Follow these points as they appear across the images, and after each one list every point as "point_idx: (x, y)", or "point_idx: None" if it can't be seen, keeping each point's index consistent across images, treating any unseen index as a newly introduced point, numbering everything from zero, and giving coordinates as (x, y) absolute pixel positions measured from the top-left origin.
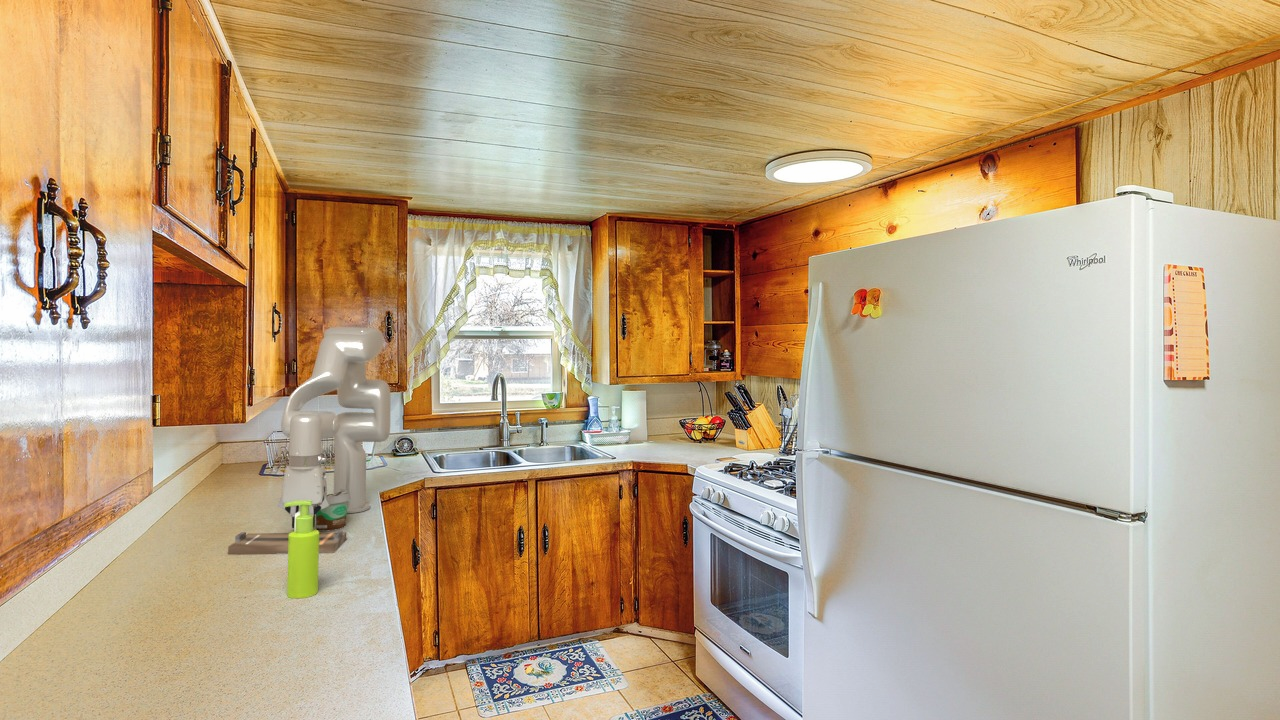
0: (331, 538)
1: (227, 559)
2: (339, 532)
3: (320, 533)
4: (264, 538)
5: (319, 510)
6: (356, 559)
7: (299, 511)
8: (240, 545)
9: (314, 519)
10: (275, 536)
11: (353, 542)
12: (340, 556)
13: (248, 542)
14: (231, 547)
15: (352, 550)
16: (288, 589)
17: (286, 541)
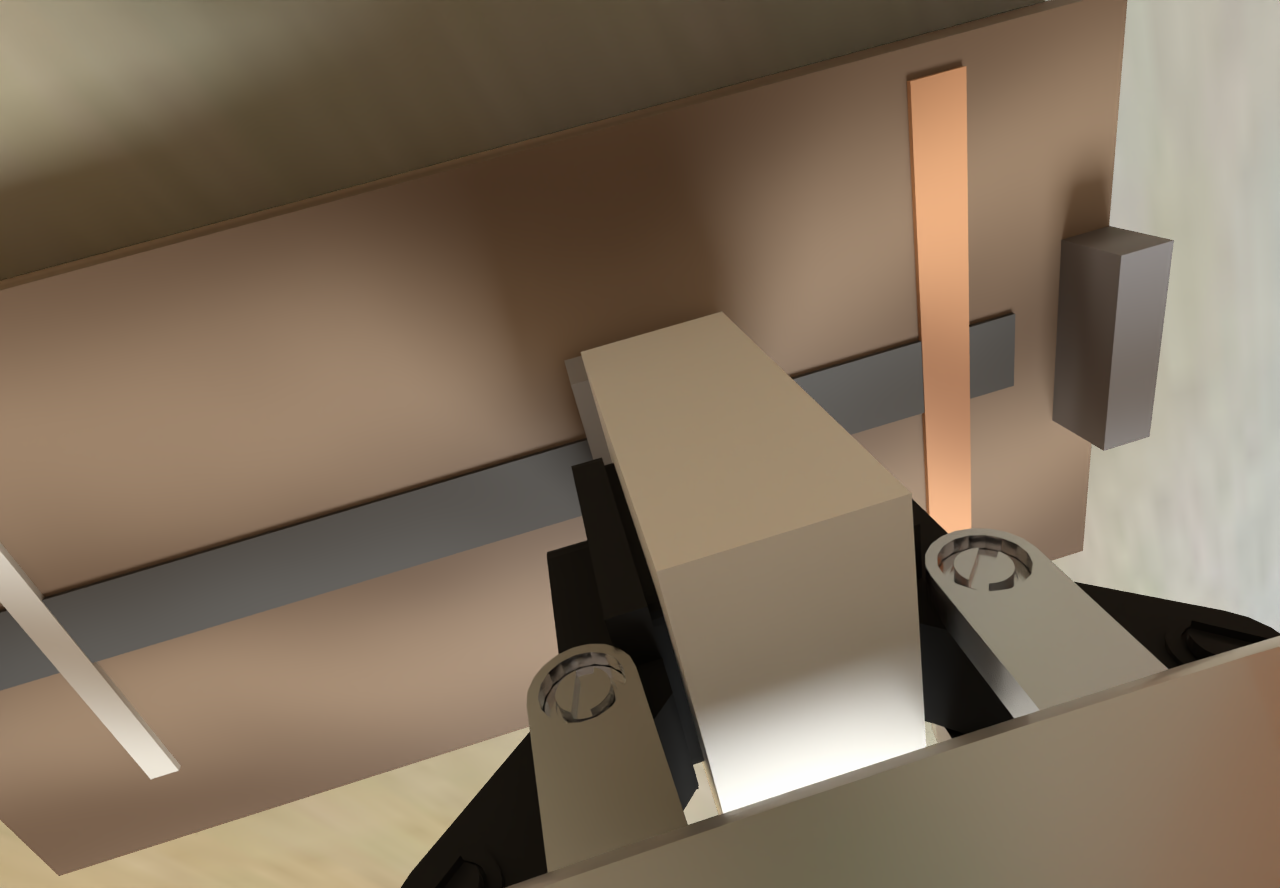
0: (1006, 362)
1: (233, 867)
2: (1145, 330)
3: (769, 139)
4: (169, 573)
5: (1144, 612)
6: (1227, 592)
7: (746, 801)
8: (146, 816)
9: (924, 527)
10: (214, 438)
11: (1151, 118)
12: (1102, 568)
13: (137, 741)
14: (96, 856)
15: (1175, 402)
16: None
17: (537, 580)
